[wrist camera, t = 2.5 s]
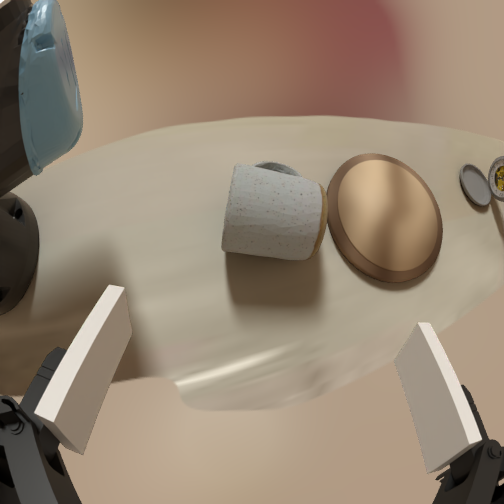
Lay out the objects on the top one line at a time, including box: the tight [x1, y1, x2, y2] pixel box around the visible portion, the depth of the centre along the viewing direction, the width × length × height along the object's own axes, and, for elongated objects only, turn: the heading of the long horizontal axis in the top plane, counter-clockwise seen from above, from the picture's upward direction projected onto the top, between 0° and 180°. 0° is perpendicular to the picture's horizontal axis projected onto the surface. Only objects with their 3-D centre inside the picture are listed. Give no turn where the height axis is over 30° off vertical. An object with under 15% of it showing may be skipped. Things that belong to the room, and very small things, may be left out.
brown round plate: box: [326, 154, 443, 283], centre depth 30 cm, size 15×15×1 cm
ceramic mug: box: [221, 161, 328, 260], centre depth 26 cm, size 11×8×8 cm
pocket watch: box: [460, 156, 504, 206], centre depth 28 cm, size 8×8×10 cm
